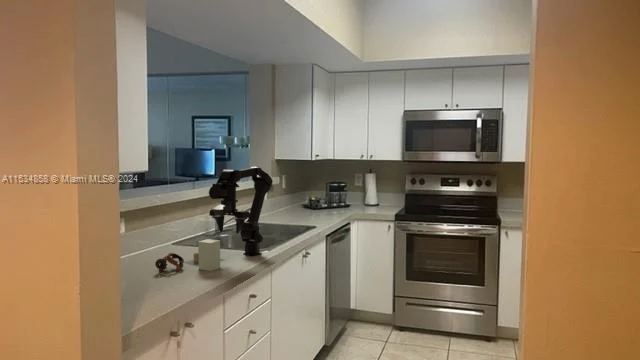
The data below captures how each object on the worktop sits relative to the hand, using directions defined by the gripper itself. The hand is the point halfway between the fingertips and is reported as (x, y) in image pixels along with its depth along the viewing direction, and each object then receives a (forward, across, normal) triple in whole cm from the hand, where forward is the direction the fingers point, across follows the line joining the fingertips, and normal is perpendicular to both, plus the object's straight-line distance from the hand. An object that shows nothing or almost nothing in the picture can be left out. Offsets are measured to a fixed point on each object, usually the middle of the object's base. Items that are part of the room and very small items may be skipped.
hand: (229, 232), depth 213 cm
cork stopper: (+13, -11, -8) cm, 19 cm away
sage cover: (+14, +1, -14) cm, 20 cm away
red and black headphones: (+14, -12, -24) cm, 31 cm away
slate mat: (+13, -10, -6) cm, 17 cm away
